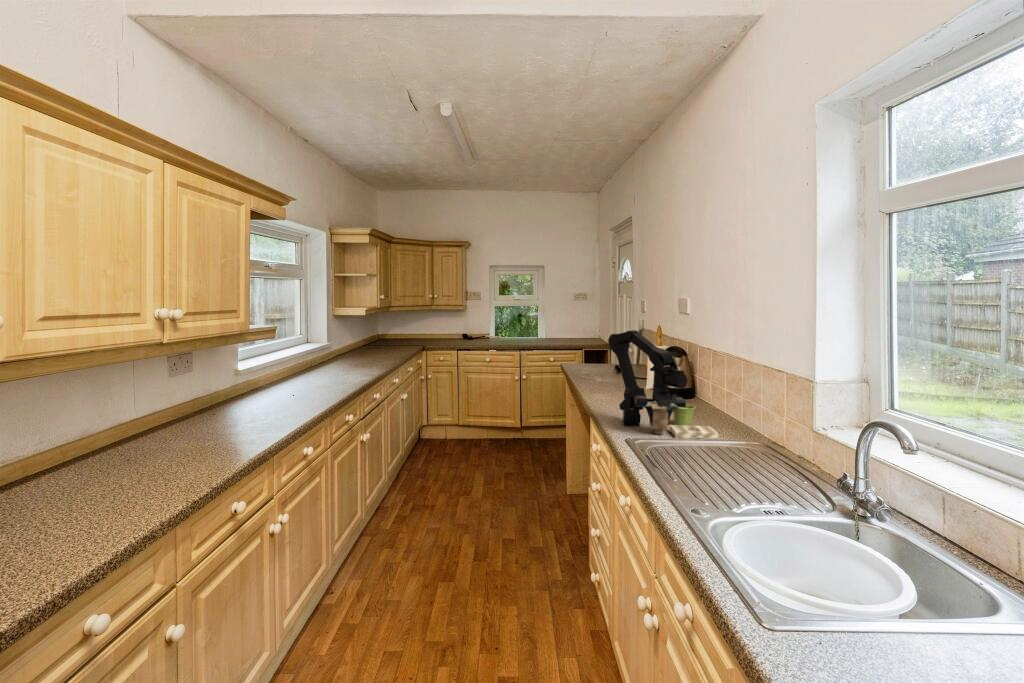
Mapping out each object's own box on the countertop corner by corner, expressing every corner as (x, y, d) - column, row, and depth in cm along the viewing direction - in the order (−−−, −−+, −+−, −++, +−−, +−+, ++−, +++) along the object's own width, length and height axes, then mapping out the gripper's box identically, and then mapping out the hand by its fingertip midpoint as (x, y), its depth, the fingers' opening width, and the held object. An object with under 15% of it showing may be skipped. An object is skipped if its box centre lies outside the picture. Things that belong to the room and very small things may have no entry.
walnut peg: (652, 434, 195) (653, 412, 194) (649, 430, 200) (650, 408, 199) (666, 435, 194) (668, 412, 193) (663, 431, 200) (664, 409, 199)
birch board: (675, 438, 192) (675, 431, 192) (669, 430, 202) (669, 424, 201) (717, 439, 191) (718, 433, 191) (709, 432, 201) (710, 426, 201)
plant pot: (665, 423, 212) (666, 403, 211) (684, 422, 215) (685, 402, 214) (679, 430, 203) (680, 409, 202) (698, 428, 206) (700, 408, 205)
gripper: (640, 387, 187) (638, 427, 189) (691, 389, 186) (688, 429, 188) (635, 381, 198) (633, 419, 200) (683, 383, 197) (680, 421, 199)
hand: (658, 422), depth 197 cm, fingers closed on walnut peg, 5 cm apart
